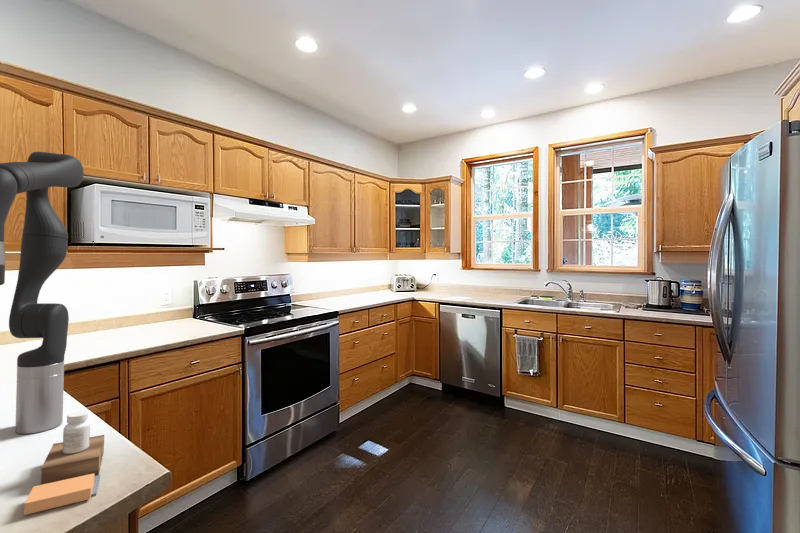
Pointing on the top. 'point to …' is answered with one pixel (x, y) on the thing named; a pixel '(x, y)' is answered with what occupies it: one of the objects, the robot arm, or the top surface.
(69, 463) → the block
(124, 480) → the top surface
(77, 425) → the pill bottle
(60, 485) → the thin peach tile
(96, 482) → the mat
